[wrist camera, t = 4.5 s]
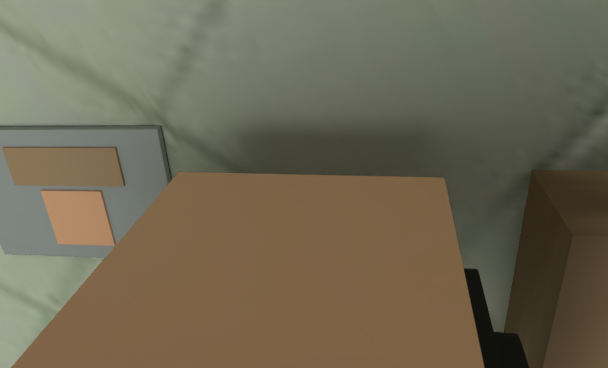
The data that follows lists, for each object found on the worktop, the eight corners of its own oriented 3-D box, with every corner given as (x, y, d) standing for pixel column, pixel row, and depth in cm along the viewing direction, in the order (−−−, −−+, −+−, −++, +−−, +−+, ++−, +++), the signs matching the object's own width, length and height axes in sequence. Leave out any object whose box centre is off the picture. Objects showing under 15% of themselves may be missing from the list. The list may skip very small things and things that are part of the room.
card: (160, 125, 16) (155, 130, 16) (185, 255, 18) (181, 261, 18) (-37, 126, 17) (-46, 131, 17) (10, 249, 19) (3, 255, 19)
